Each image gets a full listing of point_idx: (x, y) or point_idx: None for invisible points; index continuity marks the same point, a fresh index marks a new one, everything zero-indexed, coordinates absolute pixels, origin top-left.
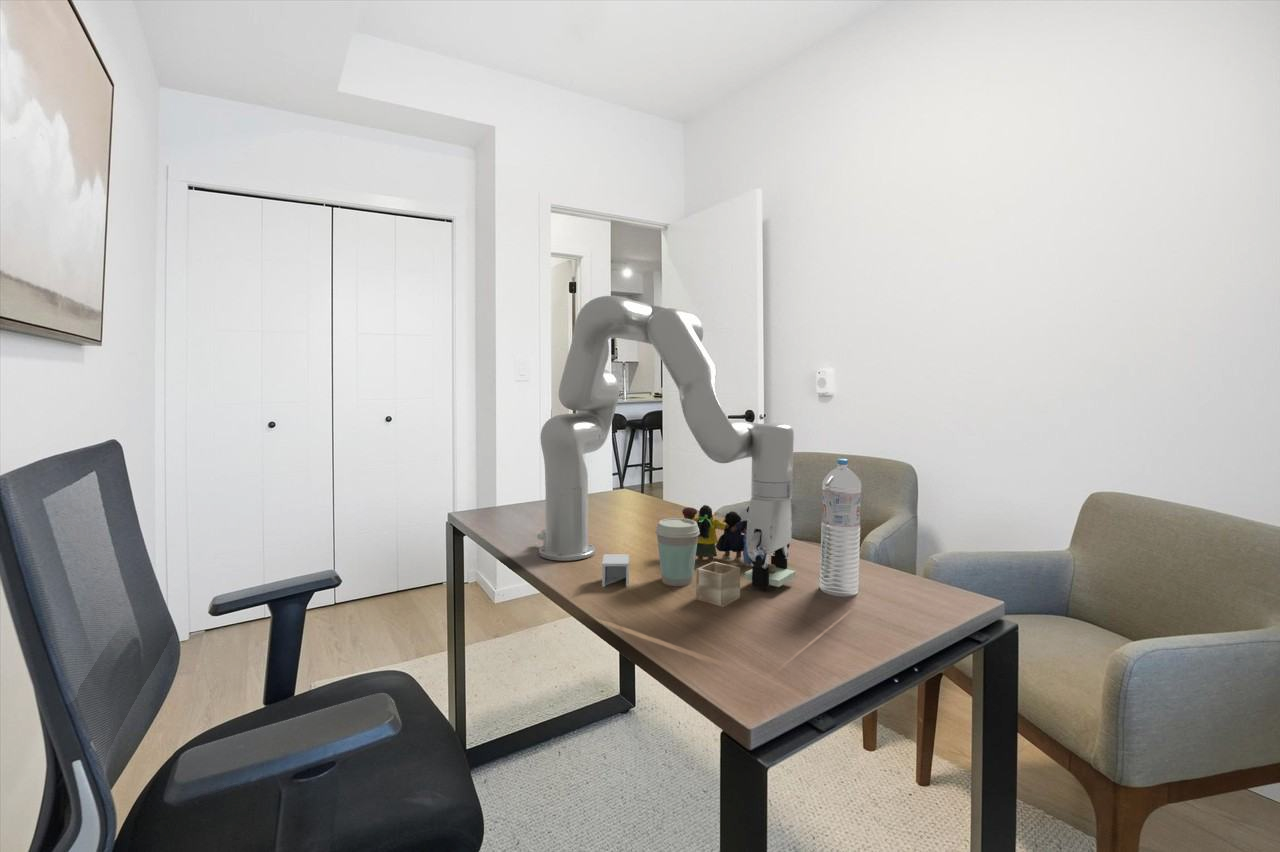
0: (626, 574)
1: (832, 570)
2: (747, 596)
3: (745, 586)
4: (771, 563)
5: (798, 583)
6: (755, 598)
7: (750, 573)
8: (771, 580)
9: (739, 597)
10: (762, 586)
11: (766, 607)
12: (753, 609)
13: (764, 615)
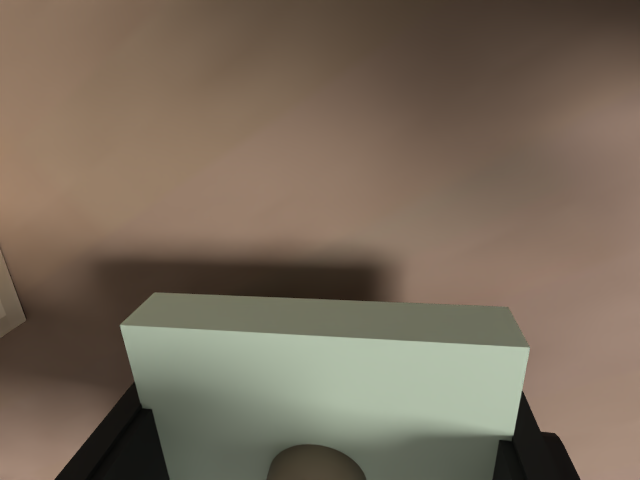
0: None
1: None
2: (108, 326)
3: (245, 234)
4: (505, 472)
5: None
6: (122, 371)
7: (141, 375)
8: None
9: (9, 329)
10: None
11: (76, 449)
12: (7, 414)
13: (4, 467)
